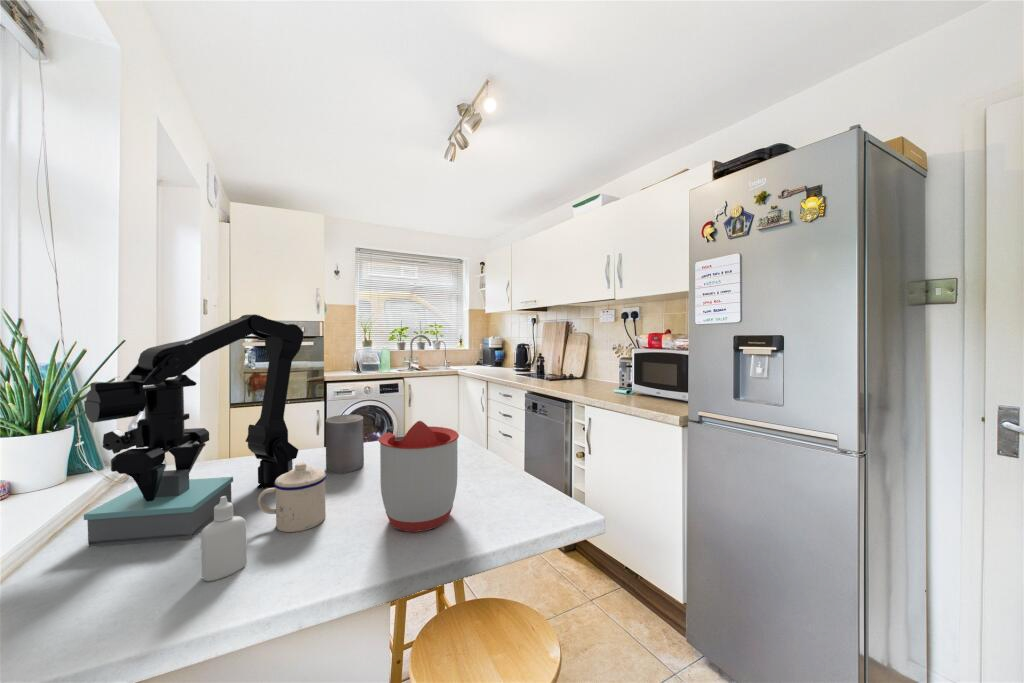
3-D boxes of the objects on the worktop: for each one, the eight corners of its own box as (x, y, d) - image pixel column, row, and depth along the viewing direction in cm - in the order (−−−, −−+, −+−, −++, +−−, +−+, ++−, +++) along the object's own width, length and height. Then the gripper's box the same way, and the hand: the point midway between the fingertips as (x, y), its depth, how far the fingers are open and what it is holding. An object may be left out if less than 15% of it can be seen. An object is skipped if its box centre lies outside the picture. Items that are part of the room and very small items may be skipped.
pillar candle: (330, 462, 112) (329, 410, 112) (366, 460, 115) (365, 409, 114) (322, 475, 103) (321, 418, 102) (361, 472, 105) (361, 416, 105)
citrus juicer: (427, 493, 92) (427, 408, 91) (474, 519, 80) (474, 420, 79) (361, 515, 81) (361, 418, 80) (404, 549, 69) (404, 435, 68)
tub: (231, 504, 86) (231, 482, 85) (192, 538, 72) (191, 511, 72) (146, 510, 83) (145, 487, 82) (88, 547, 69) (87, 519, 69)
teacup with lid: (330, 508, 84) (329, 454, 83) (322, 529, 75) (321, 469, 75) (266, 516, 80) (265, 459, 80) (250, 539, 72) (249, 476, 71)
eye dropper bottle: (207, 568, 63) (205, 494, 62) (248, 560, 65) (247, 488, 65) (198, 584, 59) (196, 505, 59) (243, 575, 61) (241, 499, 61)
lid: (233, 486, 86) (232, 458, 86) (192, 518, 71) (191, 484, 71) (145, 492, 83) (144, 463, 82) (84, 526, 68) (82, 491, 68)
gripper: (151, 403, 84) (153, 476, 85) (71, 425, 66) (74, 516, 66) (209, 402, 86) (211, 472, 87) (148, 422, 68) (151, 511, 68)
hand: (166, 490), depth 77 cm, fingers open, 9 cm apart
